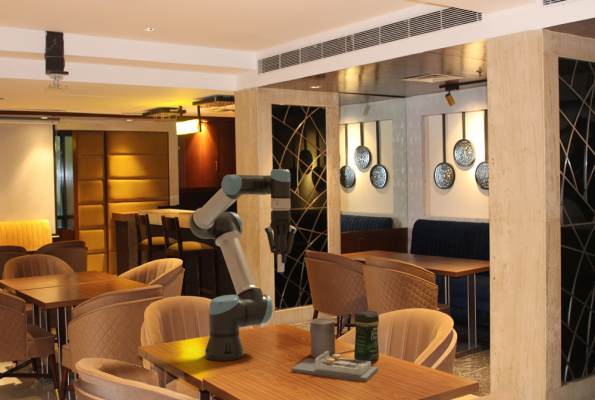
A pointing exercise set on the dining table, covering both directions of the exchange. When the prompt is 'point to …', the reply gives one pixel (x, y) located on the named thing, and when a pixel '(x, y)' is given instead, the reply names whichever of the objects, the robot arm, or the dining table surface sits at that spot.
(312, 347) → the pillar candle
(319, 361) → the keyhole panel
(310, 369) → the board
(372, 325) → the coffee jar
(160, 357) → the dining table surface
